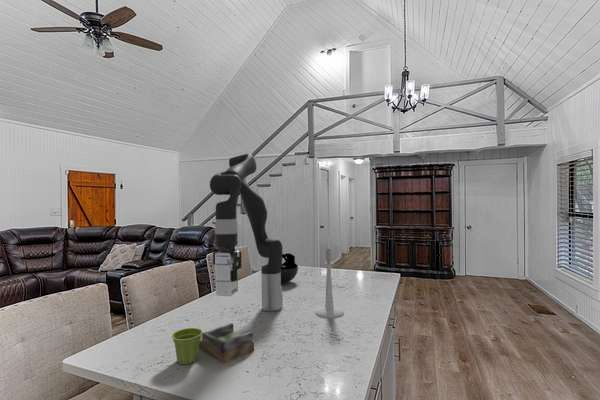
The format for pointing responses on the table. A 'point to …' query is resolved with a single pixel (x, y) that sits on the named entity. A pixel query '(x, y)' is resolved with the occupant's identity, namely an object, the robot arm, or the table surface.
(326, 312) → the candlestick
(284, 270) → the bowl of black rocks
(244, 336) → the dock
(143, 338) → the table surface
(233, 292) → the syrup box
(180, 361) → the plant pot
